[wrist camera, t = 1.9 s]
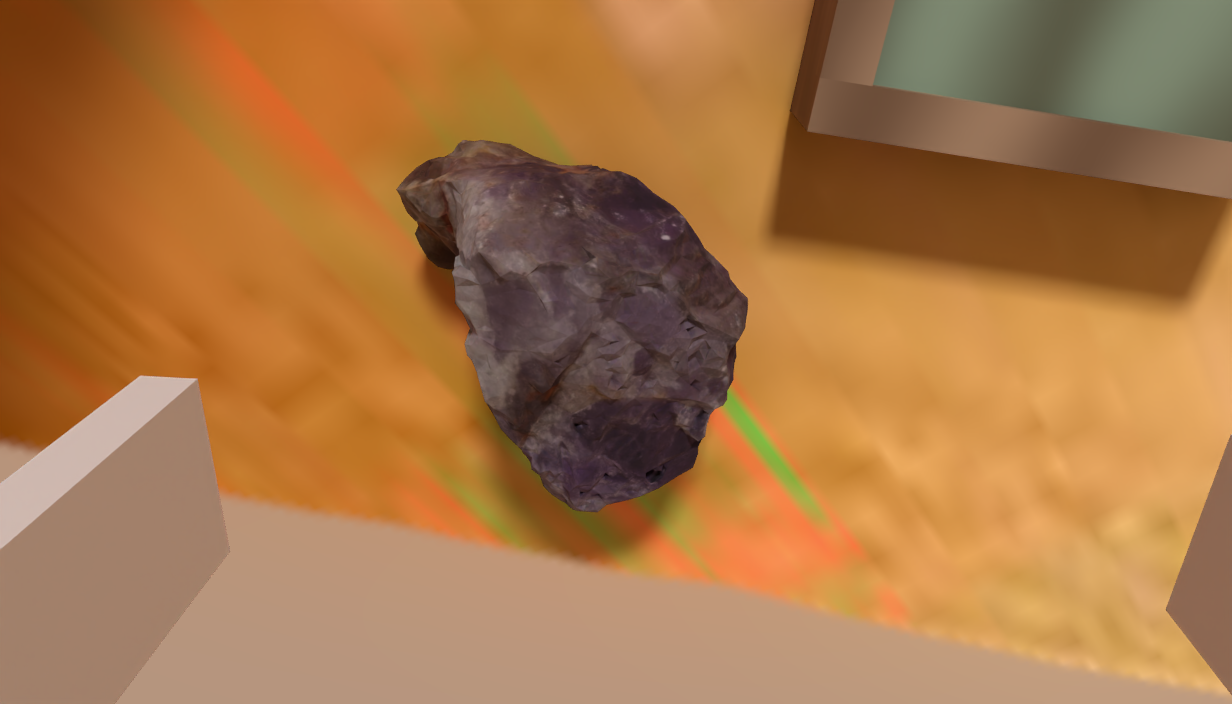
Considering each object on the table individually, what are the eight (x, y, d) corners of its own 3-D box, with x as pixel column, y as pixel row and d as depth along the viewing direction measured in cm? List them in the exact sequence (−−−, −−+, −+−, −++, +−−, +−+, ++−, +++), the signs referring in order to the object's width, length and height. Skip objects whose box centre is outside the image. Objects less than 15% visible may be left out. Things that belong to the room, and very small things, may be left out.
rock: (540, 414, 35) (775, 328, 32) (516, 575, 28) (816, 481, 25) (382, 163, 29) (654, 37, 27) (301, 285, 22) (663, 128, 20)
